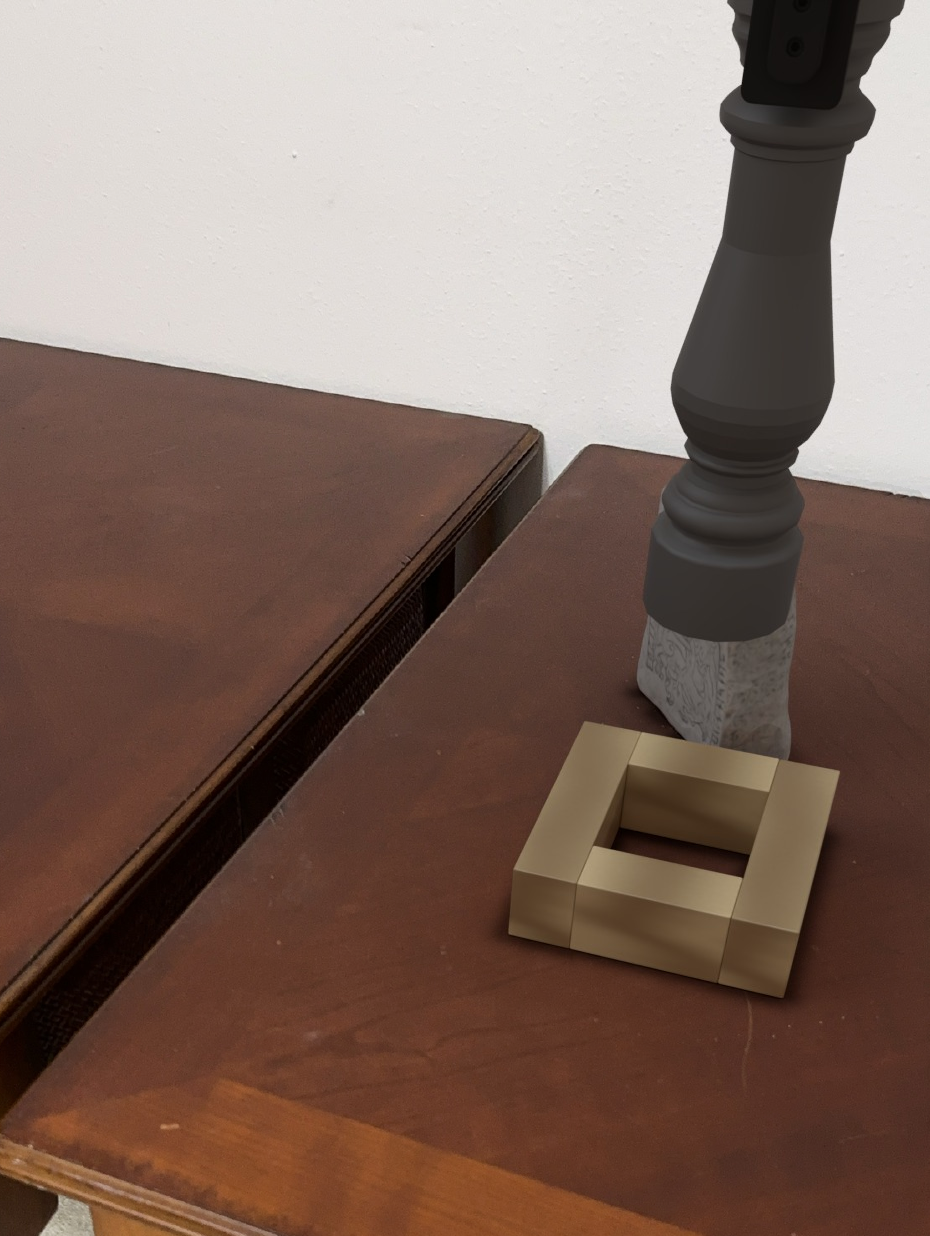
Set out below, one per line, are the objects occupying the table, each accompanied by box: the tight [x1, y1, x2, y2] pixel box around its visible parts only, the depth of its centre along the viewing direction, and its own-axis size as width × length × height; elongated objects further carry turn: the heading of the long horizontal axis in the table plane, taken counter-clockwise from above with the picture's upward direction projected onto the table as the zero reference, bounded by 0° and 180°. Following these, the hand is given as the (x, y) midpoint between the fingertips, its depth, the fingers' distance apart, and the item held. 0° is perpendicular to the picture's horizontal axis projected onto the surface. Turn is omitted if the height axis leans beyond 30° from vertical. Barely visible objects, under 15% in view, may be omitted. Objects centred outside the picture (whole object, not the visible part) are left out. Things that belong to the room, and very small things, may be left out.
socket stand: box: [508, 720, 841, 999], centre depth 74 cm, size 13×13×4 cm
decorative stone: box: [636, 485, 797, 761], centre depth 80 cm, size 11×6×15 cm, turn 21°
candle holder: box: [642, 0, 906, 642], centre depth 57 cm, size 6×6×25 cm
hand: (806, 74), depth 52 cm, fingers closed on candle holder, 5 cm apart
